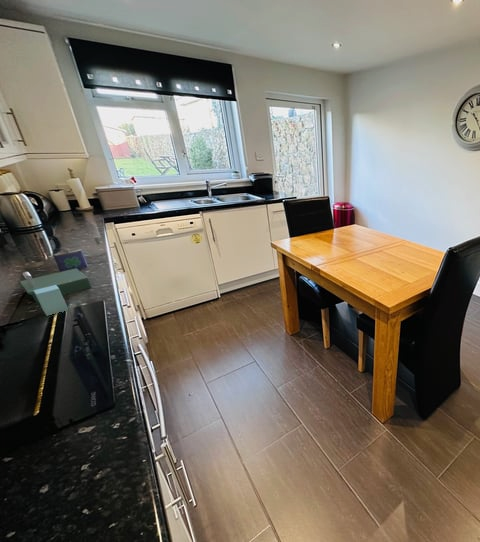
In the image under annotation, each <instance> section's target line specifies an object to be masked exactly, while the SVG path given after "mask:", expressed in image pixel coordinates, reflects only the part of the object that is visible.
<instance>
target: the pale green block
mask: <svg viewBox="0 0 480 542" xmlns="http://www.w3.org/2000/svg"><path fill="white" fill-rule="evenodd" d="M33 291H34V293H35V295H36V297H37V299H38V301H39V302H38V303H39V305H40V307H41V309H42V311H43V312H44V314H45V316H46V317H47V316H48V315H52V314H55V313H59V312H62V313H65V312H69V311H70V310H69V307H68V305H67V303H66V301H65V299H64V295H63V296H62V294H61V292H60V290H59V288H58V287H57V286H56V285H53V286H49V287H45V288H41V289H37V290H33ZM64 311H65V312H64ZM59 314H60V313H59ZM52 316H53V315H52Z"/></svg>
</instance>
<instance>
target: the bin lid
mask: <svg viewBox="0 0 480 542" xmlns="http://www.w3.org/2000/svg"><path fill="white" fill-rule="evenodd" d="M22 276H23V278H25V279H24V280H19V283H20V284H21V286H22V287H23V289H24V290H25V291H26V293H27V294H28V295H30V296H31V294H34V291H33V290H37V289H41V288H45V287H49V286H53V285H56V286H57V287H61V286H65V285H68V284H72V283H76V282H80V281H84V280H89V277H87V276H86V275H85V274H84V273H82V272H81V271H80V269H79V270H78V269H71V270H67V271H62V272H60V271H59V272H53V273H50V274H44V275H40V276H36V277H33V276H32V275H31V274H30V272H29V271H24V272H22Z"/></svg>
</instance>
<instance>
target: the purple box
mask: <svg viewBox="0 0 480 542" xmlns="http://www.w3.org/2000/svg"><path fill="white" fill-rule="evenodd" d="M53 258H54V261H55V263H56V266H57V268H58V271H59V272H62V271H67V270H71V269H78V270H79V271H80V270H82V269H86V268H89V265H88V263H87V259H86V258H85V254H84V252H83V250H82V249H76V250H70V248H69V247H67V248H64V251H60V252H57V253H55V254H53Z"/></svg>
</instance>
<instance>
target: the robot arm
mask: <svg viewBox="0 0 480 542" xmlns="http://www.w3.org/2000/svg"><path fill="white" fill-rule="evenodd" d="M8 244H9V242H8V240H7V238H6V235H5V234H4V231H2V230H1V229H0V246H6V245H8Z"/></svg>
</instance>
